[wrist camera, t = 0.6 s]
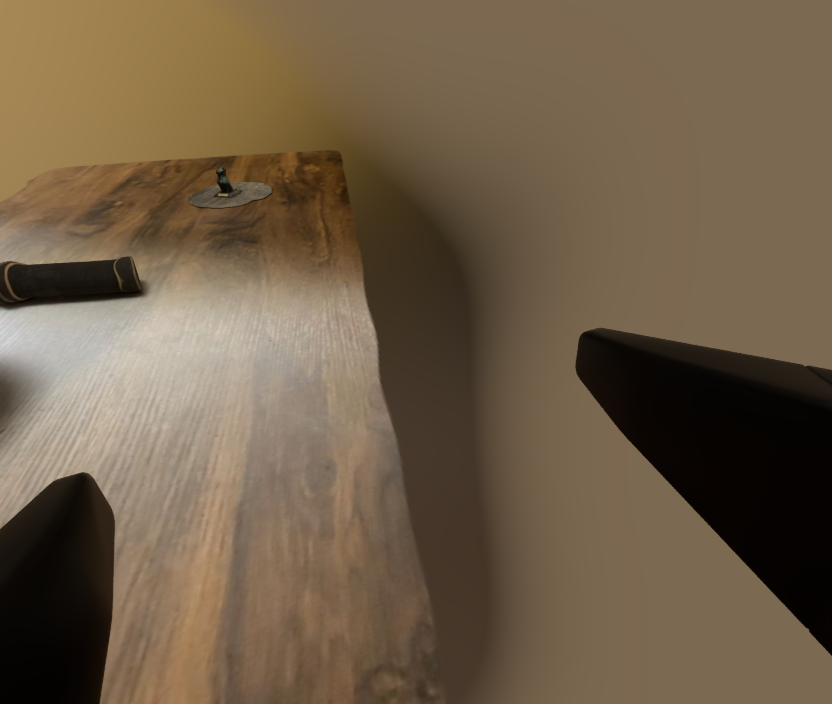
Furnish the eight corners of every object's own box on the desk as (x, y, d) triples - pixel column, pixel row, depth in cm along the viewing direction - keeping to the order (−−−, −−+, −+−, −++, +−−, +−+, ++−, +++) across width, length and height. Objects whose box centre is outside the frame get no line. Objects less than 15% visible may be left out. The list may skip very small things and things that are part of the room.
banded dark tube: (147, 247, 45) (-121, 261, 44) (120, 260, 40) (-182, 275, 39) (158, 288, 47) (-99, 302, 45) (134, 304, 42) (-154, 321, 41)
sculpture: (186, 215, 63) (172, 160, 63) (204, 237, 72) (192, 189, 72) (273, 199, 65) (259, 146, 66) (280, 222, 74) (268, 176, 75)
